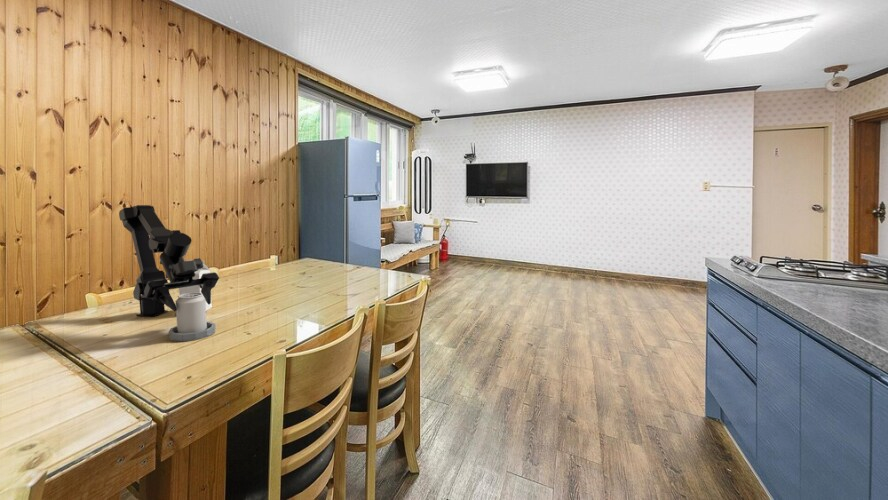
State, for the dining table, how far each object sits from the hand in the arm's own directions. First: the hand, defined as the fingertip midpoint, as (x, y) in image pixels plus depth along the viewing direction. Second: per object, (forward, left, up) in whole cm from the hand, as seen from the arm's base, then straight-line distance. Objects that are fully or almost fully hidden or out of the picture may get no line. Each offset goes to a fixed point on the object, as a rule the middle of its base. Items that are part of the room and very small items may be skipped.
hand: (193, 306), depth 111 cm
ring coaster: (-1, +1, -9) cm, 9 cm away
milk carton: (-17, +22, -9) cm, 29 cm away
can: (-1, +1, -9) cm, 9 cm away
